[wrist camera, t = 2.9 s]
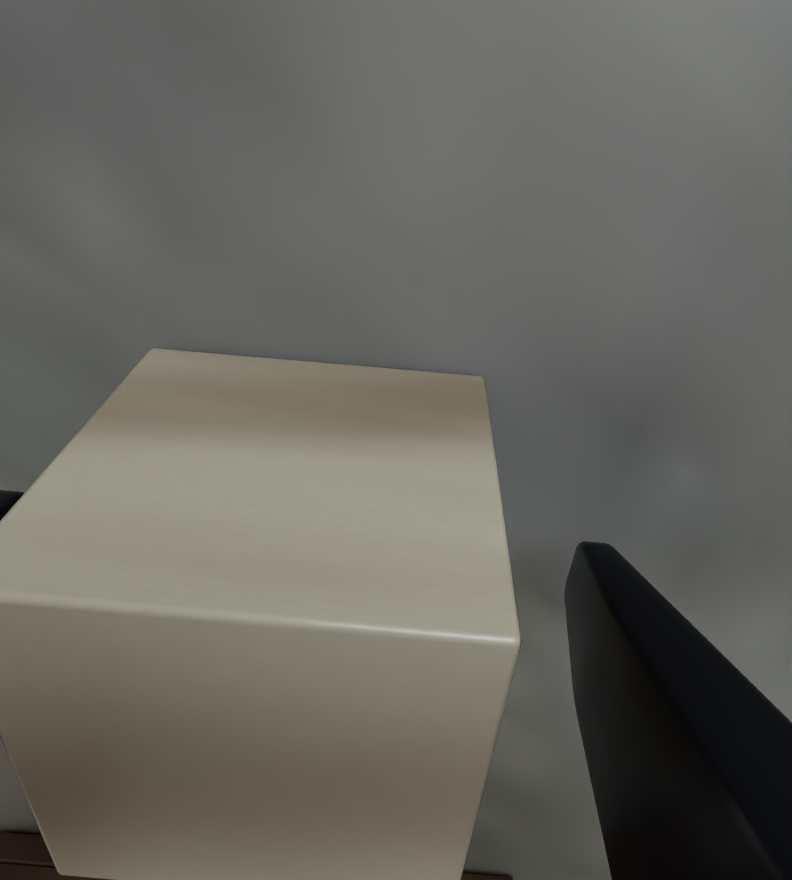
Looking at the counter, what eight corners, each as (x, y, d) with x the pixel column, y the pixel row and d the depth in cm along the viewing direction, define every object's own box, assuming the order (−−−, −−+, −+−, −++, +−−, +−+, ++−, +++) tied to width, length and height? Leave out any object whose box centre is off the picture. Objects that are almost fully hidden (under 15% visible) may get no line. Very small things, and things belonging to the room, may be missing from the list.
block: (148, 345, 9) (-67, 590, 5) (486, 373, 9) (524, 643, 5) (184, 588, 11) (56, 877, 8) (447, 610, 11) (454, 913, 8)
